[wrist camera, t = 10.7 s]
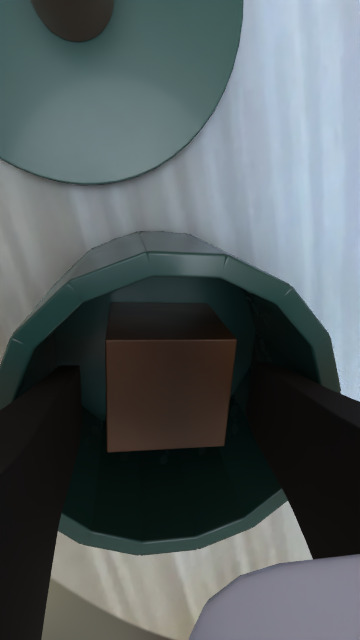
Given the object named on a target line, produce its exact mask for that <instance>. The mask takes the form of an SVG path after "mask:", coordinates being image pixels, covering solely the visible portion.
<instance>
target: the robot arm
mask: <svg viewBox="0 0 360 640" xmlns="http://www.w3.org/2000/svg"><path fill="white" fill-rule="evenodd" d="M246 416H247V419H248V422H249V425H250V428H251V430H252V433H253V435H254V438H255V440H256V442H257V444H258V446H259V448H260V450H261V451H262V453H263V455H264V457H265V459H266V461H267V463H268V464H269V466H270V468H271V470H272V472H273V473H274V475H275V477H276V479H277V481H278V483H279V484H280V486H281V488H282V490H283V492H284V493H285V495H286V497H287V499H288V501H289V503H290V505H291V507H292V509H293V512H294V514H295V516H296V519H297V521H298V523H299V526H300V528H301V531H302V533H303V535H304V538H305V540H306V543H307V545H308V548H309V550H310V553H311V555H312V558H313V560H305V561H296V562H288V563H279V564H276V565H273V566H269V567H266V568H263V569H260V570H256V571H253V572H250V573H247V574H243V575H240V576H239V577H237V578H236V579H235V580H233V581H232V582H231V583H230V584H228V585H227V586H226V587H224V588H223V589H222V590H220V591H219V592H218V593H217V594H215V595H214V596H213V597H211V598H210V599H209V600H208V601H207V603H206V604H205V606H204V608H203V610H202V612H201V614H200V616H199V618H198V620H197V622H196V624H195V626H194V629H193V631H192V633H191V635H190V637H189V640H360V402H359V401H356V400H354V399H351V398H349V397H347V396H344V395H342V394H340V393H337V392H335V391H333V390H330V389H328V388H326V387H324V386H322V385H320V384H317V383H315V382H313V381H311V380H309V379H307V378H305V377H303V376H301V375H299V374H297V373H295V372H293V371H291V370H288V369H286V368H284V367H282V366H279V365H277V364H274V363H271V362H253V365H252V372H251V379H250V387H249V394H248V401H247V408H246ZM81 426H82V404H81V380H80V365H65V366H59V367H57V368H56V369H54V370H53V371H52V372H51V373H50V374H48V375H47V376H46V377H45V378H43V379H42V380H41V381H40V382H38V383H37V384H36V385H35V386H33V387H32V388H31V389H29V390H28V391H27V392H26V393H24V394H23V395H21V396H20V397H18V398H17V399H15V400H14V401H13V402H11V403H10V404H8V405H7V406H5V407H4V408H3V409H1V410H0V640H41V637H42V630H43V623H44V615H45V609H46V602H47V595H48V589H49V582H50V576H51V569H52V563H53V557H54V550H55V544H56V538H57V532H58V527H59V523H60V518H61V514H62V510H63V506H64V502H65V499H66V495H67V491H68V487H69V484H70V480H71V476H72V472H73V468H74V465H75V461H76V457H77V453H78V449H79V442H80V435H81Z"/></svg>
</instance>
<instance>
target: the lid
mask: <svg viewBox="0 0 360 640" xmlns="http://www.w3.org/2000/svg"><path fill="white" fill-rule="evenodd" d="M242 20H243V0H0V159H2V160H4V161H6V162H8V163H9V164H11V165H13V166H15V167H17V168H19V169H22V170H24V171H27V172H29V173H32V174H34V175H37V176H40V177H43V178H47V179H51V180H55V181H58V182H64V183H71V184H79V185H101V184H108V183H115V182H121V181H124V180H128V179H131V178H135V177H138V176H140V175H142V174H145V173H147V172H149V171H151V170H153V169H155V168H157V167H159V166H160V165H162V164H163V163H165V162H166V161H168V160H170V159H171V158H172V157H174V156H175V155H176V154H177V153H178V152H179V151H181V150H182V149H183V148H184V147H185V146H186V145H188V144H189V142H190V141H191V140H192V139H193V138H194V137H195V136H196V135H197V134H198V132H199V131H200V130H201V129H202V128H203V126H204V125H205V123H206V122H207V120H208V119H209V118H210V116H211V115H212V113H213V112H214V110H215V108H216V106H217V104H218V102H219V100H220V98H221V97H222V95H223V93H224V91H225V88H226V85H227V83H228V80H229V78H230V75H231V72H232V70H233V66H234V62H235V58H236V54H237V51H238V47H239V41H240V34H241V27H242Z"/></svg>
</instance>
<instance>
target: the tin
mask: <svg viewBox="0 0 360 640" xmlns="http://www.w3.org/2000/svg"><path fill="white" fill-rule="evenodd" d="M111 302H132V303H207V304H209V305H210V307H211V308H212V309H213V310H214V312H215V313H216V314H217V315H218V317H219V318H220V319H221V320H222V322H223V323H224V324H225V325H226V327H227V328H228V329H229V330H230V332H231V333H232V334H233V335H234V337H235V338H236V339H237V344H236V353H235V361H234V369H233V378H232V386H231V395H230V403H229V412H228V420H227V429H226V437H225V445H224V446H216V447H198V448H180V449H162V450H143V451H125V452H107V434H106V368H105V338H106V331H107V325H108V318H109V311H110V304H111ZM253 362H271V363H274V364H277V365H279V366H282V367H284V368H286V369H288V370H291V371H293V372H295V373H297V374H299V375H301V376H303V377H305V378H307V379H309V380H311V381H313V382H315V383H317V384H320V385H322V386H324V387H326V388H328V389H330V390H333V391H335V392H337V393H340V391H341V388H340V383H339V378H338V373H337V368H336V363H335V358H334V353H333V348H332V343H331V338H330V336H329V333H328V332H327V330H326V329H325V328H324V327H323V325H322V324H321V323H320V321H319V320H318V319H317V318H316V316H315V315H314V314H313V312H312V311H311V310H310V309H309V307H308V306H307V305H306V303H305V302H304V301H303V300H302V298H301V297H300V296H299V294H298V293H297V292H296V291H295V289H294V288H293V287H292V286H290V285H289V284H288V283H286V282H284V281H282V280H280V279H278V278H276V277H274V276H272V275H270V274H268V273H266V272H264V271H262V270H260V269H258V268H256V267H254V266H253V265H251V264H249V263H247V262H245V261H243V260H241V259H239V258H237V257H235V256H233V255H231V254H229V253H227V252H225V251H223V250H221V249H219V248H217V247H215V246H213V245H211V244H209V243H207V242H205V241H202V240H200V239H198V238H196V237H194V236H192V235H190V234H186V233H172V232H164V231H155V232H143V231H140V232H135V233H132V234H129V235H126V236H123V237H119V238H116V239H114V240H111V241H109V242H107V243H105V244H103V245H100V246H98V247H95V248H92V249H91V250H90V251H88V252H87V253H86V254H85V255H84V256H83V257H82V258H81V259H80V260H79V261H78V262H77V263H76V264H74V266H73V267H72V268H71V269H70V270H69V271H68V272H67V273H66V274H65V275H64V276H63V277H62V278H61V279H60V280H58V281H57V282H56V284H55V285H54V286H53V287H52V288H51V289H50V291H49V292H48V293H47V294H46V295H45V297H44V298H43V299H42V300H41V301H40V302H39V304H38V305H37V306H36V307H35V308H34V309H33V311H32V312H31V313H30V314H29V315H28V317H27V318H26V319H25V320H24V321H23V322H22V324H21V325H20V326H19V327H18V328H17V329H16V331H15V332H14V333H13V335H12V336H11V338H10V340H9V342H8V345H7V348H6V351H5V353H4V356H3V359H2V362H1V364H0V410H1V409H3V408H4V407H5V406H7V405H8V404H10V403H11V402H13V401H14V400H15V399H17V398H18V397H20V396H21V395H23V394H24V393H26V392H27V391H28V390H29V389H31V388H32V387H33V386H35V385H36V384H37V383H38V382H40V381H41V380H42V379H43V378H45V377H46V376H47V375H48V374H50V373H51V372H52V371H53V370H54V369H56V368H57V367H59V366H65V365H80V380H81V404H82V426H81V435H80V442H79V449H78V453H77V457H76V461H75V465H74V468H73V472H72V476H71V480H70V484H69V487H68V491H67V495H66V499H65V502H64V506H63V510H62V514H61V518H60V523H59V527H58V531H59V532H61V533H63V534H64V535H66V536H68V537H69V538H71V539H73V540H74V541H76V542H78V543H79V544H83V545H87V546H92V547H97V548H102V549H107V550H112V551H117V552H122V553H127V554H132V555H141V556H142V555H151V554H161V553H171V552H180V551H190V550H197V548H198V549H201V548H203V547H206V546H208V545H211V544H213V543H216V542H218V541H221V540H223V539H226V538H228V537H231V536H233V535H236V534H238V533H241V532H243V531H246V530H248V529H250V528H251V527H252V528H253V527H254V526H256V525H257V524H258V523H260V522H261V521H262V520H263V519H265V518H266V517H267V516H269V515H270V514H271V513H272V512H274V511H275V510H276V509H278V508H279V507H280V506H281V505H283V504H284V503H285V502H286V501H288V499H287V497H286V495H285V493H284V492H283V490H282V488H281V486H280V484H279V483H278V481H277V479H276V477H275V475H274V473H273V472H272V470H271V468H270V466H269V464H268V463H267V461H266V459H265V457H264V455H263V453H262V451H261V450H260V448H259V446H258V444H257V442H256V440H255V438H254V435H253V433H252V430H251V428H250V425H249V422H248V419H247V416H246V408H247V401H248V394H249V387H250V379H251V372H252V365H253ZM340 394H341V393H340Z"/></svg>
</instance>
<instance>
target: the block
mask: <svg viewBox="0 0 360 640" xmlns="http://www.w3.org/2000/svg"><path fill="white" fill-rule="evenodd" d="M236 344H237V339H236V338H235V337H234V335H233V334H232V333H231V332H230V330H229V329H228V328H227V327H226V325H225V324H224V323H223V322H222V320H221V319H220V318H219V317H218V315H217V314H216V313H215V312H214V310H213V309H212V308H211V307H210V305H209V304H207V303H132V302H111V304H110V311H109V318H108V325H107V331H106V338H105V368H106V434H107V452H125V451H143V450H162V449H180V448H198V447H216V446H224V445H225V437H226V429H227V420H228V412H229V403H230V395H231V386H232V378H233V369H234V361H235V353H236Z"/></svg>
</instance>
